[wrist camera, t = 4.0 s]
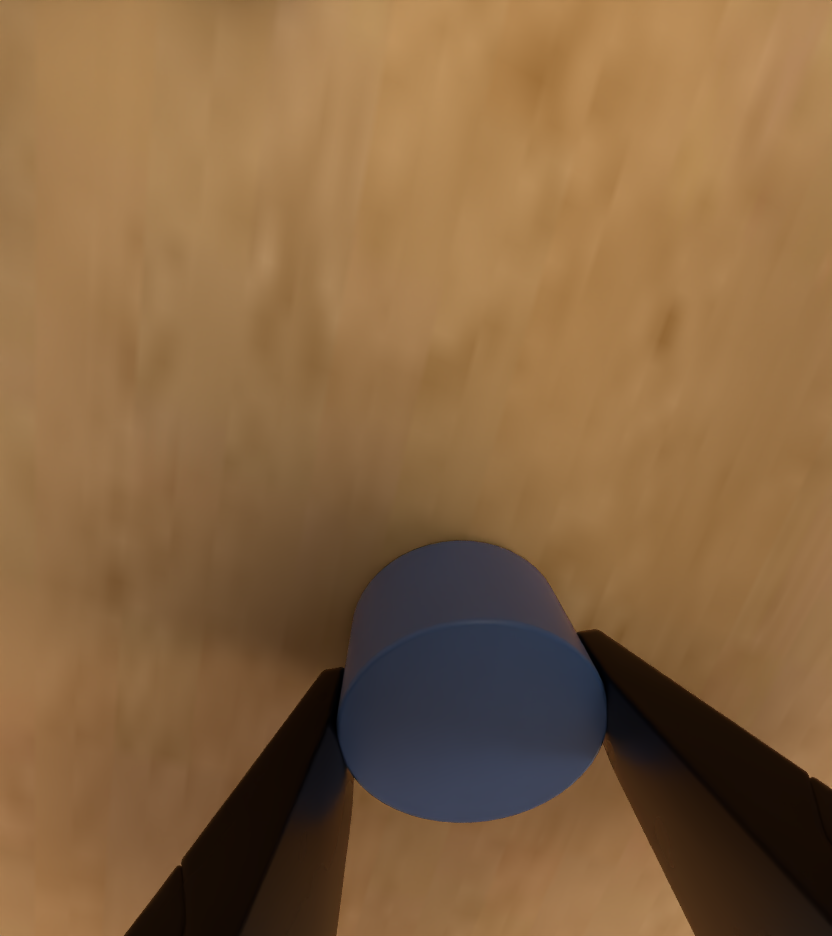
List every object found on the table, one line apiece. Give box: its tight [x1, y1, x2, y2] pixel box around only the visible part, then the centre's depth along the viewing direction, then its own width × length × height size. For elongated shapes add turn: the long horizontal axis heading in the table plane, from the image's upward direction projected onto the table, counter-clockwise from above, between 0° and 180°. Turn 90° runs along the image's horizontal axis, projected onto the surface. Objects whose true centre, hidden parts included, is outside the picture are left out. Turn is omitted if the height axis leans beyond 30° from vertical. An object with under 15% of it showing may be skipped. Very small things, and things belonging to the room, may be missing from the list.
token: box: [336, 541, 607, 823], centre depth 8 cm, size 4×4×2 cm
